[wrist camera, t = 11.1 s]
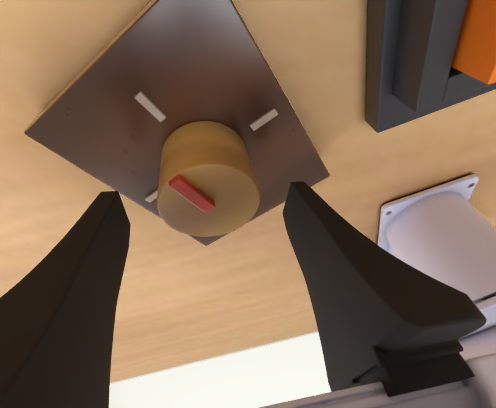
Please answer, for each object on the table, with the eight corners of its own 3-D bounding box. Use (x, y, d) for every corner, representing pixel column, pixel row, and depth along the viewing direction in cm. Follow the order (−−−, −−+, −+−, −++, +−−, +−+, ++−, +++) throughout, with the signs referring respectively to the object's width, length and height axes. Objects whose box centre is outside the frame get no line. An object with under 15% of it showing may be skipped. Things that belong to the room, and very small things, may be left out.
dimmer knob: (262, 162, 14) (279, 211, 12) (201, 201, 16) (204, 253, 13) (211, 101, 11) (220, 148, 9) (141, 155, 13) (131, 210, 10)
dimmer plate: (318, 157, 17) (331, 177, 16) (204, 225, 20) (206, 248, 19) (201, -51, 9) (204, -49, 8) (40, 112, 12) (21, 135, 11)
